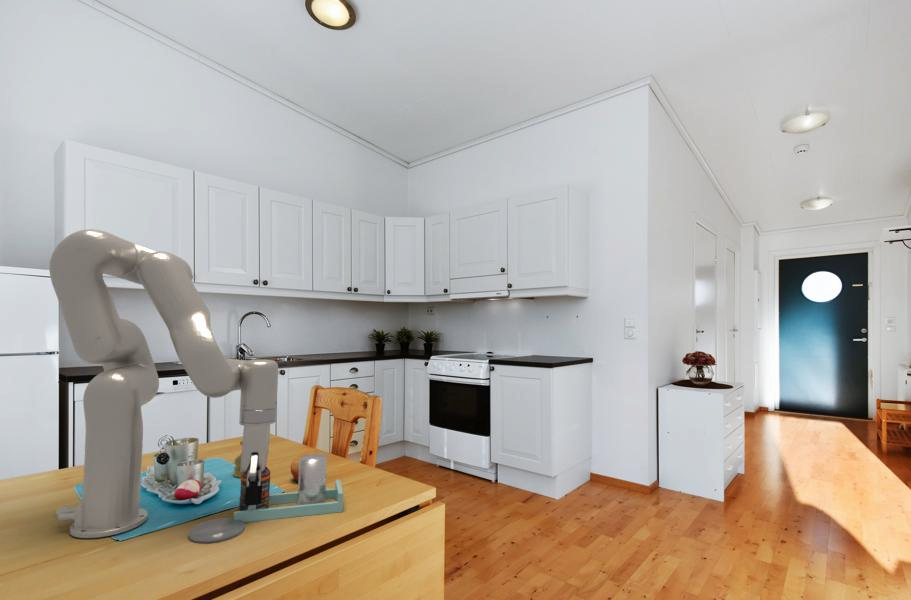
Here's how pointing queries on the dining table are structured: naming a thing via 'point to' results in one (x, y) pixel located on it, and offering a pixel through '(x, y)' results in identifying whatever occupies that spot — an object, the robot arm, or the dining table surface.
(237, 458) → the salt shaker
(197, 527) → the coaster
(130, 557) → the dining table surface
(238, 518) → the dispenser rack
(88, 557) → the dining table surface
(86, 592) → the dining table surface
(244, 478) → the supplement bottle
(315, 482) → the can
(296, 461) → the fruit
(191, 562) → the dining table surface
